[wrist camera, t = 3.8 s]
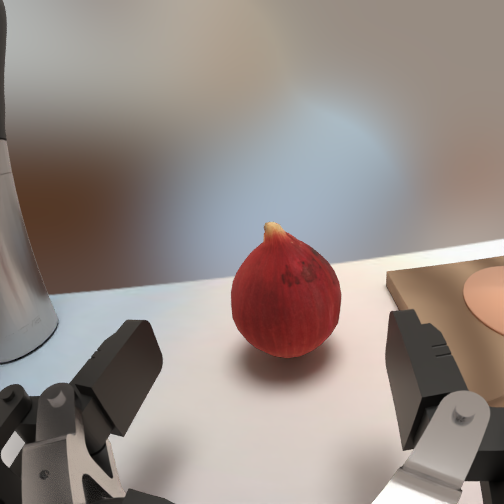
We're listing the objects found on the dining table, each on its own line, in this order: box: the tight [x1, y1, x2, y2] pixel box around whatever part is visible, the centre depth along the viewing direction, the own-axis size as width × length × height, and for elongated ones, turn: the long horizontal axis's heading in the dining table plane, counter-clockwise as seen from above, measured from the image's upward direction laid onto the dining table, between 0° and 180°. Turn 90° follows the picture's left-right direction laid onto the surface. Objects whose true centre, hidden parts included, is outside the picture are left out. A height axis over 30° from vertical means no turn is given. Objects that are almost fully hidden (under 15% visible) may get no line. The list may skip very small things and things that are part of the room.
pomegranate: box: [231, 222, 341, 358], centre depth 16 cm, size 6×6×8 cm
